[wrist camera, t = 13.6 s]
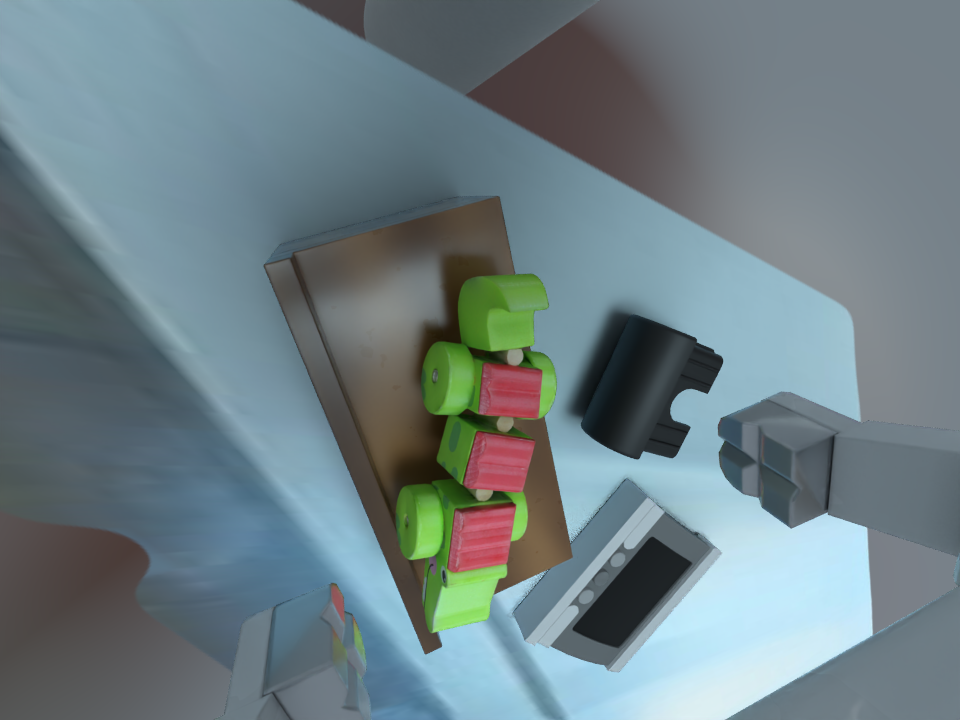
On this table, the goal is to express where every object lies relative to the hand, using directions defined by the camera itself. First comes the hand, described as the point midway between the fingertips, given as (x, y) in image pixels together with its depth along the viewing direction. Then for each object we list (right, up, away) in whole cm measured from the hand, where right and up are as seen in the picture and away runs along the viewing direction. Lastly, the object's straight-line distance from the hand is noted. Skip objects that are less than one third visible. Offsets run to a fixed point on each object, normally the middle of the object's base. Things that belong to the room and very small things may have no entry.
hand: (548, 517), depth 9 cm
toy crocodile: (-3, -2, +18) cm, 19 cm away
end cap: (+11, +2, +32) cm, 34 cm away
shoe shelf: (-5, +1, +26) cm, 27 cm away
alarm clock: (+13, -19, +40) cm, 46 cm away
